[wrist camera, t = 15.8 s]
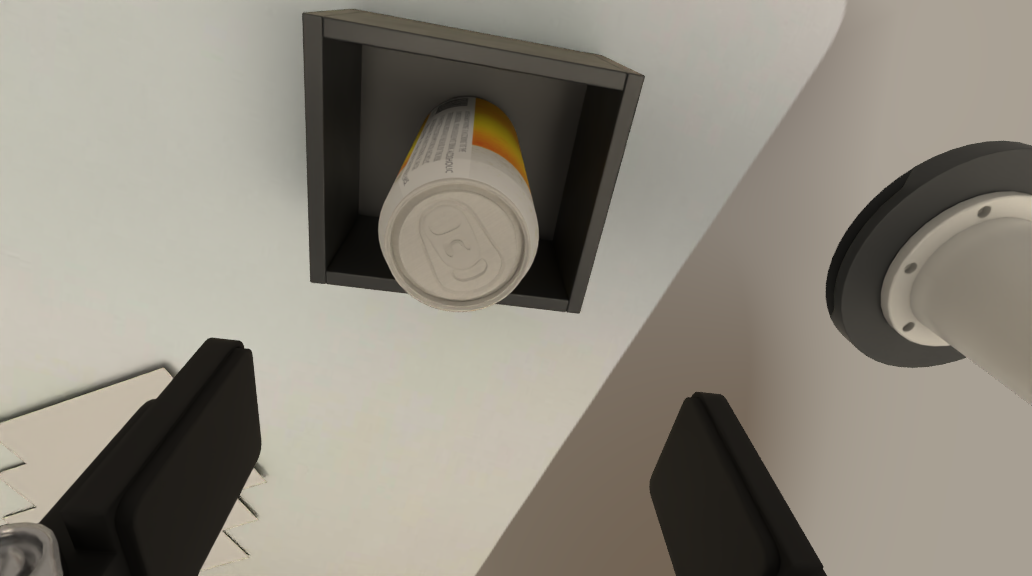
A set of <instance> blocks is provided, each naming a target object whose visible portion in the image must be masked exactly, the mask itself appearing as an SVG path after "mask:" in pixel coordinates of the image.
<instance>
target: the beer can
mask: <svg viewBox="0 0 1032 576" xmlns="http://www.w3.org/2000/svg"><path fill="white" fill-rule="evenodd" d="M378 234H379V242H380V247H381V250H382V253H383V256H384V258H385V260H386V262H387V264H388V266H389V269H390V271H391V273H392V275H393V276H394V278H395V279H396V281H397V282H398V283H399V285H400V286H401V287H402V288H403V289H404V290H405V291H406V292H407V293H408V294H410V295H411V296H412V297H413V298H415V299H417V300H418V301H420V302H422V303H424V304H426V305H428V306H430V307H433V308H436V309H440V310H444V311H451V312H468V311H475V310H480V309H483V308H486V307H489V306H491V305H493V304H495V303H497V302H499V301H501V300H502V299H503V298H505V297H506V296H508V295H509V294H510V293H511V292H512V291H513V290H514V289H515V288H516V286H517V285H518V284H519V283H520V281H521V280H522V278H523V277H524V276H525V275H526V273H527V272H528V270H529V269H530V267H531V265H532V263H533V261H534V258H535V255H536V252H537V248H538V241H539V228H538V221H537V217H536V212H535V208H534V204H533V200H532V196H531V192H530V187H529V183H528V179H527V175H526V171H525V167H524V162H523V158H522V154H521V150H520V146H519V142H518V137H517V134H516V131H515V129H514V126H513V124H512V123H511V121H510V120H509V118H508V117H507V116H506V114H505V113H504V112H503V111H502V110H500V109H499V108H498V107H497V106H495V105H494V104H492V103H490V102H488V101H486V100H483V99H480V98H475V97H458V98H454V99H450V100H448V101H445V102H444V103H442V104H440V105H439V106H437V107H436V108H435V109H434V110H433V111H431V113H430V114H429V115H428V116H427V118H426V119H425V121H424V123H423V125H422V127H421V129H420V131H419V133H418V135H417V137H416V139H415V141H414V143H413V145H412V147H411V149H410V151H409V153H408V155H407V157H406V159H405V161H404V163H403V165H402V167H401V169H400V171H399V173H398V175H397V177H396V180H395V182H394V184H393V186H392V188H391V190H390V192H389V194H388V196H387V198H386V200H385V202H384V204H383V207H382V210H381V213H380V218H379V226H378Z"/></svg>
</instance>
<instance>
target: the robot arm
mask: <svg viewBox="0 0 1032 576" xmlns="http://www.w3.org/2000/svg"><path fill="white" fill-rule="evenodd" d="M881 308H882V312H883V315H884V317H885V319H886V320H887V322H888V324H889V325H890V326H891V327H892V328H893V329H894V330H896V331H897V332H898V333H899V334H900V335H902V336H903V337H905V338H906V339H908V340H909V341H912V342H915V343H918V344H921V345H928V346H949V345H951V346H952V347H953V348H955V349H956V350H957V351H959V352H960V353H961V354H963V355H964V356H965V357H967V358H968V359H970V360H971V361H972V362H974V363H975V364H976V365H978V366H979V367H981V368H982V369H983V370H985V371H986V372H988V374H990V375H991V376H993V377H994V378H995V379H997V380H998V381H999V382H1001V383H1002V384H1003V385H1005V386H1006V387H1007V388H1009V389H1010V390H1011V391H1013V392H1014V393H1015V394H1017V395H1018V396H1019V397H1021V398H1022V399H1023V400H1025V401H1026V402H1027V403H1029V404H1030V405H1032V195H1030V194H1027V193H1021V192H1015V191H1005V192H994V193H989V194H984V195H979V196H976V197H974V198H971V199H968V200H966V201H963V202H960V203H958V204H957V205H955V206H953V207H951V208H949V209H947V210H945V211H943V212H942V213H940V214H939V215H937V216H936V217H935V218H933V219H932V220H930V221H929V222H927V223H926V224H925V225H924V226H923V227H921V228H920V229H919V230H918V231H917V232H916V233H915V234H914V235H913V236H911V238H910V239H909V240H908V241H907V242H906V243H905V245H904V246H903V247H902V248H901V249H900V250H899V252H898V254H897V255H896V257H895V258H894V260H893V261H892V263H891V264H890V266H889V269H888V271H887V273H886V276H885V278H884V281H883V285H882V290H881ZM260 451H261V433H260V423H259V414H258V404H257V394H256V384H255V375H254V365H253V355H252V351H251V350H250V349H244V345H243V343H242V342H241V341H237V340H228V339H219V338H209V339H207V340H206V341H205V342H204V343H203V345H202V346H201V347H200V348H199V349H198V350H197V352H196V353H195V354H194V355H193V356H192V357H191V359H190V360H189V361H188V362H187V363H186V364H185V366H184V367H183V368H182V369H181V370H180V371H179V373H178V374H177V375H176V376H175V377H174V378H173V380H172V381H171V382H170V383H169V384H168V385H167V387H166V388H165V389H164V390H163V391H162V392H161V394H160V395H159V396H158V397H157V398H156V399H151V400H149V401H147V402H146V403H144V404H143V405H142V406H141V407H140V408H139V409H138V410H137V411H136V413H135V414H134V415H133V416H132V417H131V418H130V419H129V421H128V422H127V423H126V424H125V425H124V426H123V427H122V429H121V430H120V431H119V432H118V433H117V434H116V435H115V437H114V438H113V439H112V440H111V441H110V442H109V443H108V444H107V446H106V447H105V448H104V449H103V450H102V451H101V452H100V454H99V455H98V456H97V457H96V458H95V459H94V460H93V462H92V463H91V464H90V465H89V466H88V467H87V468H86V470H85V471H84V472H83V473H82V474H81V475H80V476H79V478H78V479H77V480H76V481H75V482H74V483H73V484H72V486H71V487H70V488H69V489H68V490H67V491H66V492H65V494H64V495H63V496H62V497H61V498H60V499H59V500H58V501H57V503H56V504H55V505H54V506H53V507H52V508H51V509H50V511H49V512H48V513H47V514H46V515H45V516H44V517H43V519H42V520H41V521H40V522H39V523H31V522H20V523H10V524H5V525H1V526H0V576H198V574H199V572H200V570H201V568H202V566H203V564H204V562H205V560H206V559H207V557H208V555H209V553H210V551H211V549H212V547H213V545H214V543H215V541H216V539H217V537H218V535H219V534H220V532H221V530H222V528H223V526H224V524H225V522H226V520H227V518H228V516H229V514H230V512H231V510H232V508H233V507H234V505H235V503H236V501H237V499H238V497H239V495H240V493H241V491H242V489H243V487H244V485H245V483H246V482H247V480H248V478H249V476H250V474H251V472H252V470H253V468H254V466H255V464H256V462H257V460H258V458H259V455H260ZM650 494H651V498H652V501H653V504H654V507H655V510H656V514H657V517H658V520H659V523H660V526H661V530H662V533H663V536H664V539H665V542H666V545H667V549H668V552H669V555H670V558H671V561H672V564H673V567H674V571H675V574H676V576H827V575H826V573H825V572H824V570H823V565H822V563H821V562H820V560H819V558H818V556H817V555H816V553H815V551H814V549H813V548H812V546H811V544H810V543H809V541H808V539H807V537H806V536H805V534H804V532H803V531H802V529H801V527H800V526H799V524H798V522H797V520H796V519H795V517H794V515H793V514H792V512H791V510H790V508H789V506H788V505H787V503H786V501H785V500H784V498H783V496H782V494H781V493H780V491H779V489H778V488H777V486H776V484H775V482H774V481H773V479H772V477H771V476H770V474H769V472H768V470H767V469H766V467H765V465H764V464H763V462H762V460H761V458H760V457H759V455H758V453H757V451H756V450H755V448H754V446H753V445H752V443H751V441H750V439H749V438H748V436H747V434H746V433H745V431H744V429H743V427H742V426H741V424H740V422H739V421H738V419H737V417H736V415H735V414H734V412H733V410H732V408H731V407H730V405H729V403H728V402H727V400H726V398H725V397H724V396H723V395H721V394H712V393H703V392H695V393H694V394H693V395H692V397H691V398H689V397H688V398H686V399H685V400H684V402H683V404H682V406H681V409H680V411H679V413H678V416H677V418H676V420H675V423H674V425H673V427H672V430H671V432H670V434H669V437H668V439H667V441H666V444H665V446H664V448H663V450H662V453H661V455H660V457H659V460H658V462H657V464H656V467H655V469H654V471H653V474H652V476H651V479H650Z"/></svg>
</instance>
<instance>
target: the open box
mask: <svg viewBox="0 0 1032 576" xmlns="http://www.w3.org/2000/svg"><path fill="white" fill-rule="evenodd" d="M302 20H303V54H304V87H305V120H306V154H307V187H308V221H309V254H310V282H313V283H321V284H326V283H327V284H331V285H339V286H348V287H356V288H365V289H374V290H382V291H391V292H399V293H407V292H406V291H405V290H404V289H403V288H402V287H401V286H400V285H399V283H398V282H397V281H396V279H395V278H394V276H393V275H392V273H391V271H390V269H389V266H388V264H387V262H386V260H385V258H384V256H383V253H382V250H381V247H380V242H379V234H378V226H379V218H380V213H381V210H382V207H383V204H384V202H385V200H386V198H387V196H388V194H389V192H390V190H391V188H392V186H393V184H394V182H395V180H396V177H397V175H398V173H399V171H400V169H401V167H402V165H403V163H404V161H405V159H406V157H407V155H408V153H409V151H410V149H411V147H412V145H413V143H414V141H415V139H416V137H417V135H418V133H419V131H420V129H421V127H422V125H423V123H424V121H425V119H426V118H427V116H428V115H429V114H430V113H431V111H433V110H434V109H435V108H436V107H437V106H439V105H440V104H442V103H444V102H445V101H448V100H450V99H454V98H458V97H475V98H480V99H483V100H486V101H488V102H490V103H492V104H494V105H495V106H497V107H498V108H499V109H500V110H502V111H503V112H504V113H505V114H506V116H507V117H508V118H509V120H510V121H511V123H512V124H513V126H514V129H515V131H516V134H517V137H518V142H519V146H520V150H521V154H522V158H523V162H524V167H525V171H526V175H527V179H528V183H529V187H530V192H531V196H532V200H533V204H534V208H535V212H536V217H537V221H538V228H539V241H538V248H537V252H536V255H535V258H534V261H533V263H532V265H531V267H530V269H529V270H528V272H527V273H526V275H525V276H524V277H523V278H522V280H521V281H520V283H519V284H518V285H517V286H516V288H515V289H514V290H513V291H512V292H511V293H510V294H509V295H508V296H506V297H505V298H503V299H502V300H501V301H499V302H497V303H495V304H502V305H510V306H519V307H527V308H536V309H544V310H553V311H561V312H566V311H567V312H570V313H580V311H581V307H582V304H583V300H584V296H585V293H586V289H587V285H588V282H589V278H590V275H591V271H592V267H593V264H594V260H595V256H596V253H597V249H598V245H599V242H600V238H601V235H602V231H603V227H604V224H605V220H606V216H607V213H608V209H609V205H610V202H611V198H612V194H613V191H614V187H615V184H616V180H617V176H618V173H619V169H620V165H621V162H622V158H623V154H624V151H625V147H626V143H627V140H628V136H629V133H630V129H631V125H632V122H633V118H634V114H635V111H636V107H637V103H638V100H639V96H640V93H641V89H642V85H643V82H644V78H645V76H644V75H642V74H640V73H638V72H636V71H634V70H632V69H629V68H627V67H625V66H623V65H621V64H619V63H617V62H615V61H613V60H611V59H609V58H607V57H604V56H602V55H596V54H591V53H586V52H580V51H575V50H570V49H565V48H559V47H554V46H549V45H543V44H538V43H533V42H527V41H522V40H517V39H511V38H506V37H501V36H495V35H490V34H485V33H479V32H474V31H469V30H463V29H458V28H453V27H447V26H442V25H437V24H431V23H426V22H421V21H415V20H410V19H405V18H399V17H394V16H389V15H383V14H378V13H373V12H367V11H362V10H357V9H344V10H331V11H318V12H306V13H303V14H302Z"/></svg>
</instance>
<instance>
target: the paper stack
mask: <svg viewBox="0 0 1032 576" xmlns="http://www.w3.org/2000/svg"><path fill="white" fill-rule="evenodd" d="M172 380H173V377H172V376H171V375H170V374H169V373H168V371H167V370H166V369H165V368H161V369H158V370H155V371H152V372H149V373H146V374H143V375H140V376H137V377H134V378H131V379H128V380H125V381H123V382H120V383H117V384H114V385H111V386H108V387H105V388H102V389H99V390H96V391H93V392H90V393H87V394H84V395H81V396H78V397H75V398H72V399H69V400H67V401H64V402H61V403H58V404H55V405H52V406H49V407H46V408H43V409H40V410H37V411H34V412H31V413H28V414H25V415H22V416H19V417H16V418H13V419H11V420H8V421H5V422H2V423H0V443H2V444H3V445H4V446H5V447H6V448H8V449H9V450H10V451H11V452H13V453H14V454H15V455H16V456H17V457H19V458H20V459H21V460H22V461H24V462H25V463H26V464H24V465H21V466H18V467H15V468H12V469H9V470H6V471H3V472H0V479H1V480H2V481H3V482H5V483H6V484H7V485H8V486H10V487H11V488H12V489H14V490H15V491H16V492H17V493H19V494H20V495H21V496H23V497H24V498H25V499H27V500H28V501H29V502H30V503H32V504H33V505H34V506H36V508H33V509H30V510H27V511H23V512H20V513H17V514H14V515H11V516H7V517H4V518H2V519H3V520H4V521H6V522H7V523H8V524H10V523H20V522H31V523H39V522H40V521H41V520H42V519H43V517H44V516H45V515H46V514H47V513H48V512H49V511H50V509H51V508H52V507H53V506H54V505H55V504H56V503H57V501H58V500H59V499H60V498H61V497H62V496H63V495H64V494H65V492H66V491H67V490H68V489H69V488H70V487H71V486H72V484H73V483H74V482H75V481H76V480H77V479H78V478H79V476H80V475H81V474H82V473H83V472H84V471H85V470H86V468H87V467H88V466H89V465H90V464H91V463H92V462H93V460H94V459H95V458H96V457H97V456H98V455H99V454H100V452H101V451H102V450H103V449H104V448H105V447H106V446H107V444H108V443H109V442H110V441H111V440H112V439H113V438H114V437H115V435H116V434H117V433H118V432H119V431H120V430H121V429H122V427H123V426H124V425H125V424H126V423H127V422H128V421H129V419H130V418H131V417H132V416H133V415H134V414H135V413H136V411H137V410H138V409H139V408H140V407H141V406H142V405H143V404H144V403H146V402H147V401H149V400H151V399H156V398H157V397H158V396H159V395H160V394H161V392H162V391H163V390H164V389H165V388H166V387H167V385H168V384H169V383H170V382H171V381H172ZM263 483H267V482H266V481H265V480H264V478H263V477H262V476H261V475H260V474H259V473H258V472H257V471H256V470H255V468H253V470H252V472H251V474H250V476H249V478H248V480H247V482H246V483H245V485H244V487H243V489H247V488H250V487H253V486H257V485H260V484H263ZM243 489H242V490H243ZM257 520H258V519H257V518H256V517H255V516H254V515H253V514H252V513H251V512H250V511H249V510H248V509H247V508H246V507H245V505H244V504H243V503H242V502H241V501H240V500H239V499H237V501H236V503H235V505H234V507H233V508H232V510H231V512H230V514H229V516H228V518H227V520H226V522H225V524H224V526H223V528H222V530H221V532H220V534H219V535H218V537H217V539H216V541H215V543H214V545H213V547H212V549H211V551H210V553H209V555H208V557H207V559H206V560H205V562H204V564H203V566H202V568H201V570H200V571H203V570H207V569H210V568H214V567H217V566H221V565H224V564H228V563H231V562H235V561H239V560H242V559H246V558H249V556H248V555H247V554H246V553H245V552H244V551H243V550H242V549H240V548H239V547H238V546H237V545H236V544H235V543H234V542H233V541H232V540H231V539H230V538H229V537H228V536H227V535H226V534H225V533H224V532H223V530H226V529H230V528H233V527H237V526H240V525H244V524H247V523H250V522H254V521H257Z"/></svg>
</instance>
